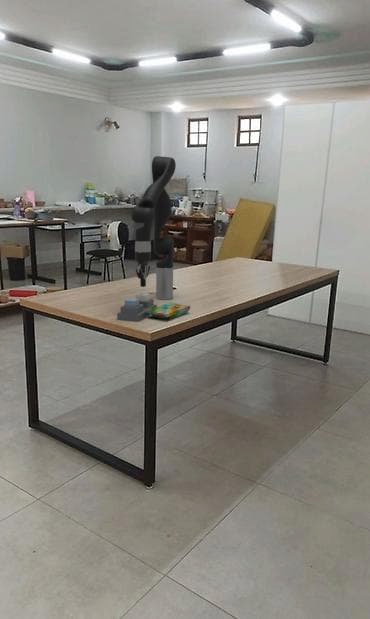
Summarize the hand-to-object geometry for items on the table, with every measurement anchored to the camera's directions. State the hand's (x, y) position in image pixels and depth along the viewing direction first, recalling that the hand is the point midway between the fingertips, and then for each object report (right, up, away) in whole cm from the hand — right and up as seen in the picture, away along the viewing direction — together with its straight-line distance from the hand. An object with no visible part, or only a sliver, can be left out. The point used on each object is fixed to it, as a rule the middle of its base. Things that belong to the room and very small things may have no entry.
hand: (143, 286), depth 228 cm
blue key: (-4, -10, -10) cm, 15 cm away
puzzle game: (+12, -14, -2) cm, 19 cm away
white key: (0, -7, +2) cm, 7 cm away
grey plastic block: (-2, -14, -3) cm, 14 cm away
